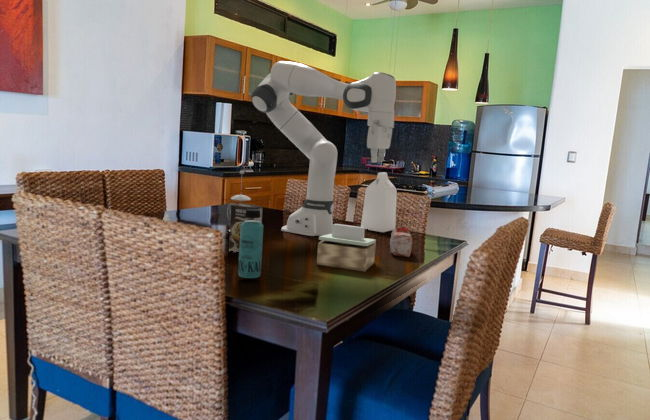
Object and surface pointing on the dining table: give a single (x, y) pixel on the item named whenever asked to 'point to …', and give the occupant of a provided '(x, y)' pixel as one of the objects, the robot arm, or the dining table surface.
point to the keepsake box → (345, 255)
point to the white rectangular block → (348, 232)
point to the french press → (238, 197)
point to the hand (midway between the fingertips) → (377, 162)
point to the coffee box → (237, 220)
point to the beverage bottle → (250, 246)
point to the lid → (347, 240)
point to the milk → (380, 205)
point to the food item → (401, 242)
